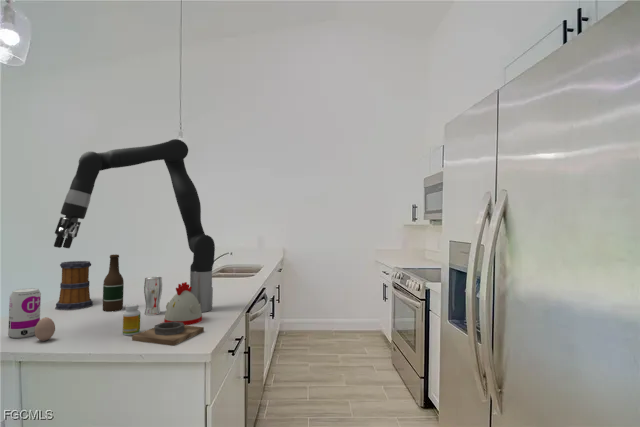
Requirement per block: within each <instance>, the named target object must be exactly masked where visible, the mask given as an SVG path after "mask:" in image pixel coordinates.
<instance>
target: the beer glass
mask: <svg viewBox="0 0 640 427" xmlns="http://www.w3.org/2000/svg"><path fill="white" fill-rule="evenodd" d="M162 292H163V277H161V276H148V277H145V278H144V285H143V294H144V300H145V308H144V309H145V310H144V315H145V316H157V315H160V314H161V307H160V306H161V299H162Z"/></svg>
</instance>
